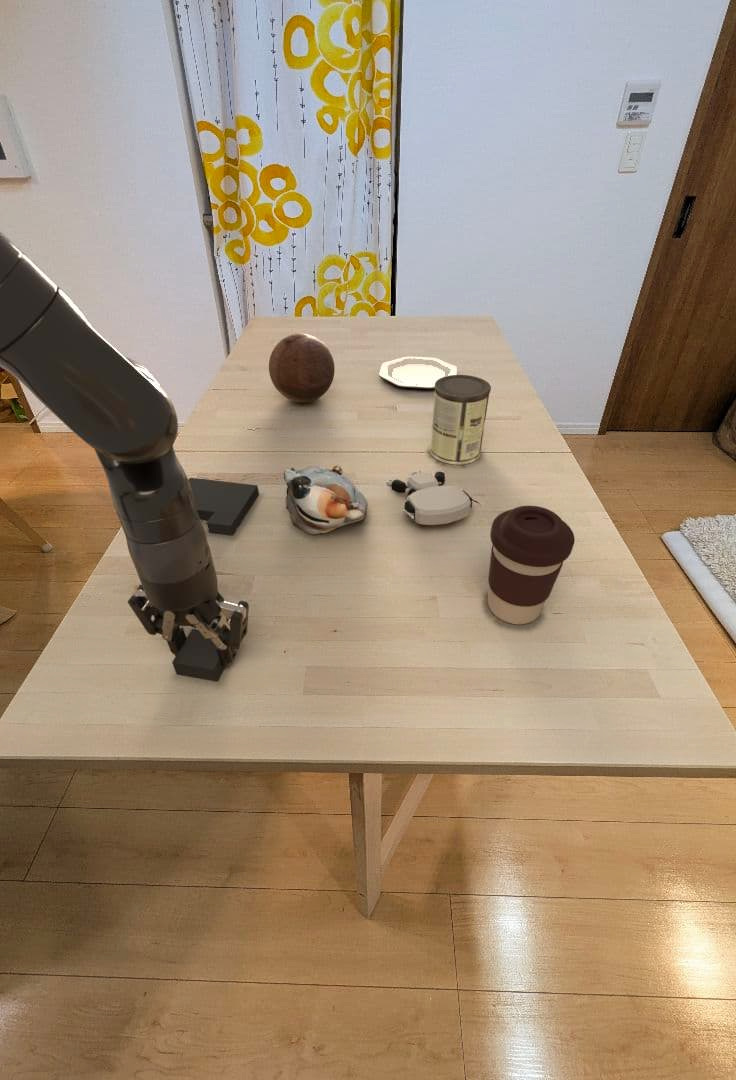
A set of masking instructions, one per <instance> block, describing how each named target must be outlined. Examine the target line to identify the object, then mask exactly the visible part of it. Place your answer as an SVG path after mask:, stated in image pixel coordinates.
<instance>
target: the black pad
mask: <svg viewBox="0 0 736 1080" xmlns="http://www.w3.org/2000/svg"><path fill="white" fill-rule="evenodd" d="M226 622H227V619H226ZM209 626H210V625H209ZM229 626H230V625H229ZM219 633H220V635H222V632H221V630H220V632H219ZM186 638H187V639H186V640H185V642H184V644H183V645H182V647H181V649H180V650H179V652H178V653H177V655H176V657H175V656H174V658H173V659H172V661H171V664H172V666H173V669H174V672H175V674H176V675H178V676H183V677H188V678H189V677H190V678H194V679H199V680H206V681H212V682H216V683H217V682H219V680H220V678H221V676H222V673H223V672H224V670H225V668H226V667H222V666H221V663H220V659H219V657H218V654H217V651H216V648H217V647H216V645H215V644H214V643H213V642H212V641H211V639H205V638H204V636H203V635H202V634H201V633H200V632H199V630H198V629H197V628H192V629H191V630H190V632H189V633H188V635H187V636H186Z"/></svg>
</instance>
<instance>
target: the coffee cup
mask: <svg viewBox="0 0 736 1080" xmlns="http://www.w3.org/2000/svg"><path fill="white" fill-rule="evenodd" d="M489 536H490V542H491V544H492V545H491V549H490V558H489V568H488V575H487V576H488V577H487V579H488V580H487V582H488V591H487V605H488V608H489V610H490V611H491V613H492V614H493V615H494V616H495V617H497V618H498V619H499V620H501V621H503V622H505V623H509V624H513V625H526V624H527V625H528V624H530V623H531V622H534V621H535V620H537V618H538V617H539V616H540V615H541V612H542V610H543V608H544V605H545V604H546V601H547V600H548V599H549V597H550V595H551V593H552V591H553V588H554V586H555V583H556V582H557V579H558V577H559V574H560V573H561V570H562V568H563V565H564V562H565V561H566V560H567V559H568V558H569V557H570V556H571V554H572V551H573V548H574V546H575V541H576V540H575V535H574V531H573V530H572V528H571V527H570V526H569V524H567V522H565V521H564V520H563V519H562V517H561V516H560V515H558V514H557V513H556V512H554V511H552V510H550V509H548V508H545V507H542V506H537V505H520V506H517V507H514V508H511V509H508V510H505V511H502V512H501V513H500V514H498V515H497V516H496V517H495V518H494V519H493V521H492V523H491V528H490V532H489Z"/></svg>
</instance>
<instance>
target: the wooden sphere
mask: <svg viewBox="0 0 736 1080" xmlns="http://www.w3.org/2000/svg"><path fill="white" fill-rule="evenodd" d="M335 368H336V367H335V361H334V357H333V355H332V352H331V350H330V349H329V348H328V346H327V345H326V343H324V341H322V340H320V339H319V338H317V337H315V336H313V335H312V334H307V333H293V334H289V335H287V336H286V337H284V338H282V339H281V340H279V341H278V342H277V343H276V344H275V346H274V348H273V349H272V351H271V353H270V356H269V360H268V373H269V377H270V380H271V383H272V384H273V387H274V388H275V389H276V390H277V392H278V393H280V395H282V396H283V397H285V398H286V399H287V400H290V401H292V402H297V403H309V402H314V401H316V400H318V399H320V398H321V397H322V396H324V395H325V394H326V393H327V391H329V388H330V387H331V385H332V383H333V381H334V378H335V371H336V369H335Z"/></svg>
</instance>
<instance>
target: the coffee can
mask: <svg viewBox="0 0 736 1080" xmlns="http://www.w3.org/2000/svg"><path fill="white" fill-rule="evenodd" d="M491 391H492V386H491V384H490V382H488V381H487V380H485V379H483V378H481V377H478V376H475V375H469V374H468V375H467V374H457V375H450V376H445V377H442V378H440V379H438V380H437V381H436V382H435V388H434V398H433V409H432V410H433V412H432V423H431V438H430V447H429V453H430V456H432V458H434V459H435V460H437V461H439V462H441V463H444V464H448V465H453V466H454V465H456V466H461V465H462V466H463V465H468V464H471V463H474V462H476V461H477V460H478V459H479V458H480V457H481V454H482V453H481V451H482V445H483V438H484V433H485V431H484V430H485V424H486V418H487V412H488V405H489V398H490V393H491Z"/></svg>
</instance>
